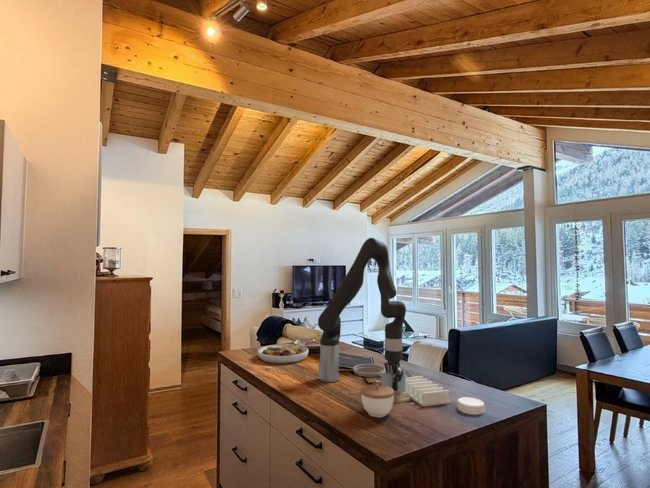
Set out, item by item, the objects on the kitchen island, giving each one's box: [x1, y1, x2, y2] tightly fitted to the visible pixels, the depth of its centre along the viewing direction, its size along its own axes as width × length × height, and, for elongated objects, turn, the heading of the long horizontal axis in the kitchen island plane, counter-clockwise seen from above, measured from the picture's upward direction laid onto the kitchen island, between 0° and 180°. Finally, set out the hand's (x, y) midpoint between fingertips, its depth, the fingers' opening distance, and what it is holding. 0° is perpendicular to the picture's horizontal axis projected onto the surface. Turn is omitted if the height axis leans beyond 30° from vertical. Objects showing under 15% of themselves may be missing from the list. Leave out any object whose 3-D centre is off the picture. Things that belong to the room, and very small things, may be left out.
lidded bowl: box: [360, 383, 394, 418], centre depth 149 cm, size 13×13×11 cm
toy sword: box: [352, 363, 386, 381], centre depth 197 cm, size 17×3×28 cm
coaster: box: [456, 396, 485, 416], centre depth 153 cm, size 10×10×4 cm
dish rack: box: [405, 375, 452, 407], centre depth 168 cm, size 13×22×5 cm, turn 17°
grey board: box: [381, 370, 406, 393], centre depth 164 cm, size 10×2×10 cm, turn 107°
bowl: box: [257, 343, 309, 365], centre depth 231 cm, size 30×30×8 cm
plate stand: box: [393, 392, 412, 404], centre depth 164 cm, size 12×8×3 cm, turn 107°
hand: (393, 389), depth 164 cm, fingers closed on grey board, 2 cm apart
